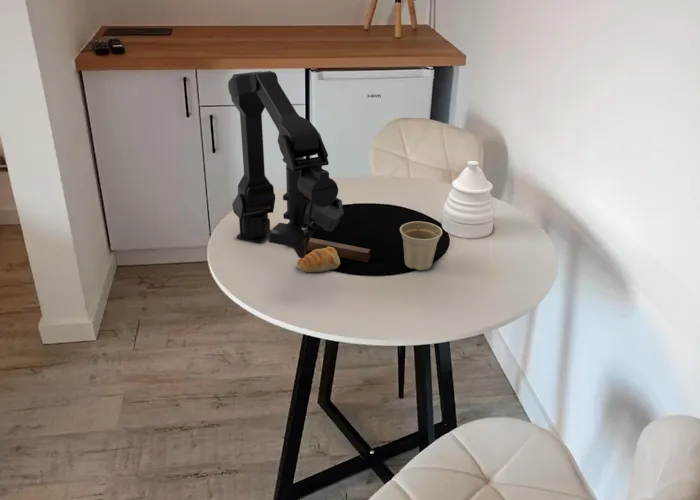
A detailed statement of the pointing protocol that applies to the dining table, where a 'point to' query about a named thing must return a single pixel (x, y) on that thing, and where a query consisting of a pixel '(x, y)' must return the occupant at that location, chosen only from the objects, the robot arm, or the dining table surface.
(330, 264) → the pastry
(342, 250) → the strip
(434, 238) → the flower pot
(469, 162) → the honey pot
